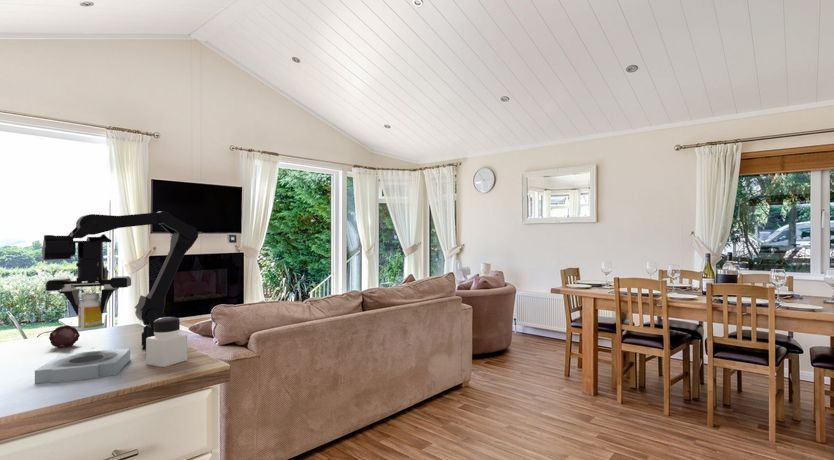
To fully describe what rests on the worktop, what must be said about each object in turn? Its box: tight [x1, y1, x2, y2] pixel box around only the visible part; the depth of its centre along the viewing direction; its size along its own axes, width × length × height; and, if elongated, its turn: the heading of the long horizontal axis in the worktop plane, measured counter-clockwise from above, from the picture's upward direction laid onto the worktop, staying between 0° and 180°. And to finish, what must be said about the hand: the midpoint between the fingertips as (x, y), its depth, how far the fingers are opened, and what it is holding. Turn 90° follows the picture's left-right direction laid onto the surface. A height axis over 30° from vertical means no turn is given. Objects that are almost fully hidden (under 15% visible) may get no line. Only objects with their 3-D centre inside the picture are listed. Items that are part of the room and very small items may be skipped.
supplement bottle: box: [77, 292, 103, 331], centre depth 122 cm, size 5×5×10 cm
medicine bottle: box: [145, 316, 188, 368], centre depth 117 cm, size 7×7×12 cm
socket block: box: [34, 348, 131, 384], centre depth 110 cm, size 16×16×3 cm
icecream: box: [48, 324, 81, 349], centre depth 134 cm, size 7×7×15 cm
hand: (90, 313), depth 122 cm, fingers closed on supplement bottle, 5 cm apart
